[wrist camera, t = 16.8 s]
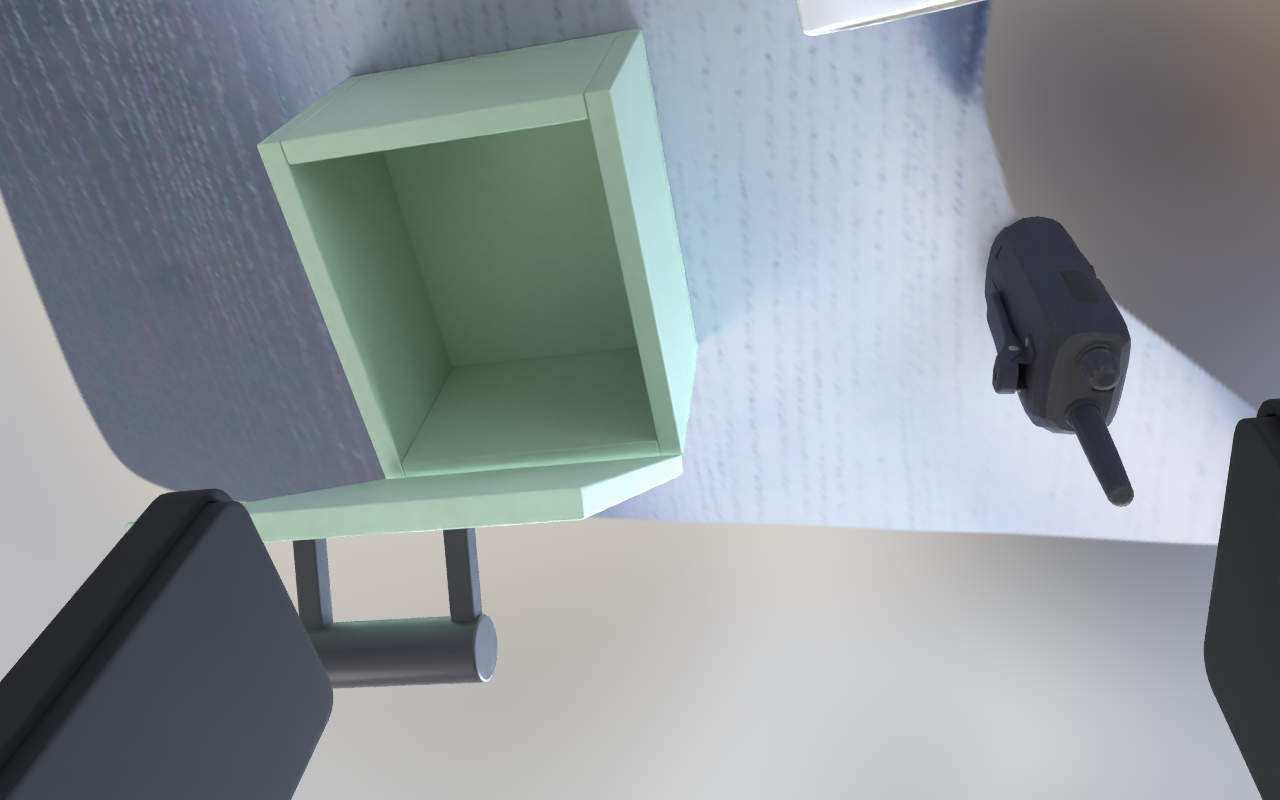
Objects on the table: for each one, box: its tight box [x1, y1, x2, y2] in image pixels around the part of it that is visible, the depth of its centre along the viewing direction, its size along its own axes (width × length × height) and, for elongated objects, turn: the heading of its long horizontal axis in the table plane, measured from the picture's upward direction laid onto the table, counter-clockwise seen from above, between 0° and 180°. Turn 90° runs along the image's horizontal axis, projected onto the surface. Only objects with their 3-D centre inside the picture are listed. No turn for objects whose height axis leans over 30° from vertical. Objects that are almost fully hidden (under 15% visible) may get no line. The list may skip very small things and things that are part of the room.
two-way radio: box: [985, 216, 1134, 507], centre depth 38 cm, size 6×4×15 cm
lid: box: [126, 455, 683, 688], centre depth 34 cm, size 16×13×5 cm
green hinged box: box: [257, 28, 698, 479], centre depth 42 cm, size 15×13×9 cm
